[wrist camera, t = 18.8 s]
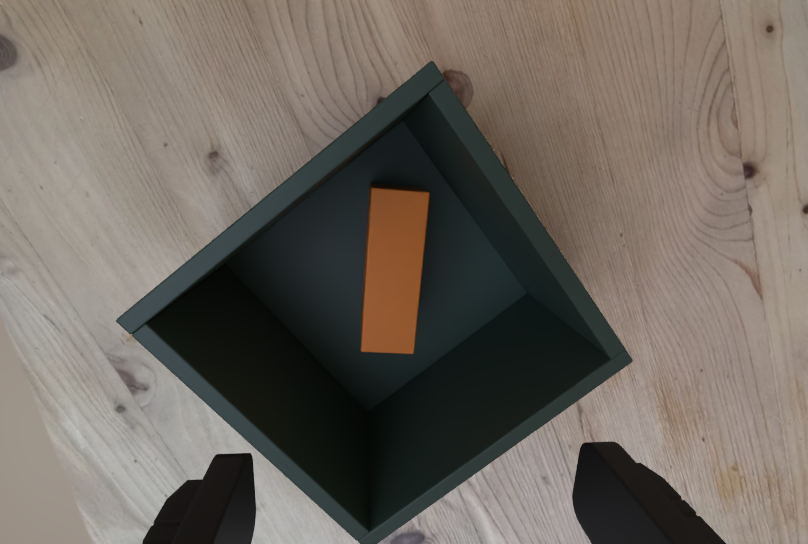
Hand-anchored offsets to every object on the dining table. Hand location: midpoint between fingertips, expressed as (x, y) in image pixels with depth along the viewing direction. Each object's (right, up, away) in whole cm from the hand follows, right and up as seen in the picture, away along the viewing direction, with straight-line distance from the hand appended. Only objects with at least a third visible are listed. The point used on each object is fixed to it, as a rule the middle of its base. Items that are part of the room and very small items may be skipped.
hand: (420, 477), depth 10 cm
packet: (-2, +1, +15) cm, 16 cm away
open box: (-2, +5, +18) cm, 19 cm away
